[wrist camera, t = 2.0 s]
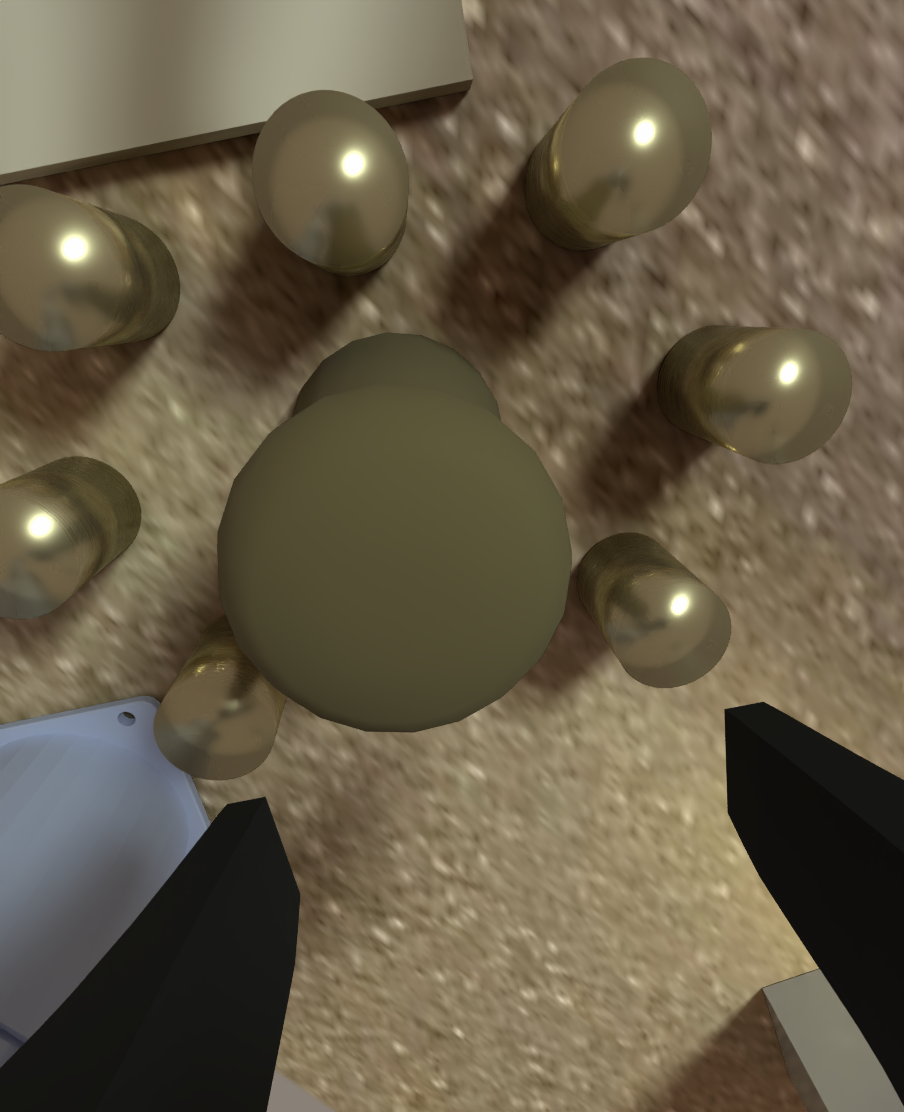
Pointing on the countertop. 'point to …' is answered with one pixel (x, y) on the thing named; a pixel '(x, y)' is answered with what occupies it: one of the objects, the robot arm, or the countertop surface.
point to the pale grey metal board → (202, 70)
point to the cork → (394, 543)
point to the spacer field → (359, 248)
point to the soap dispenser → (827, 1049)
